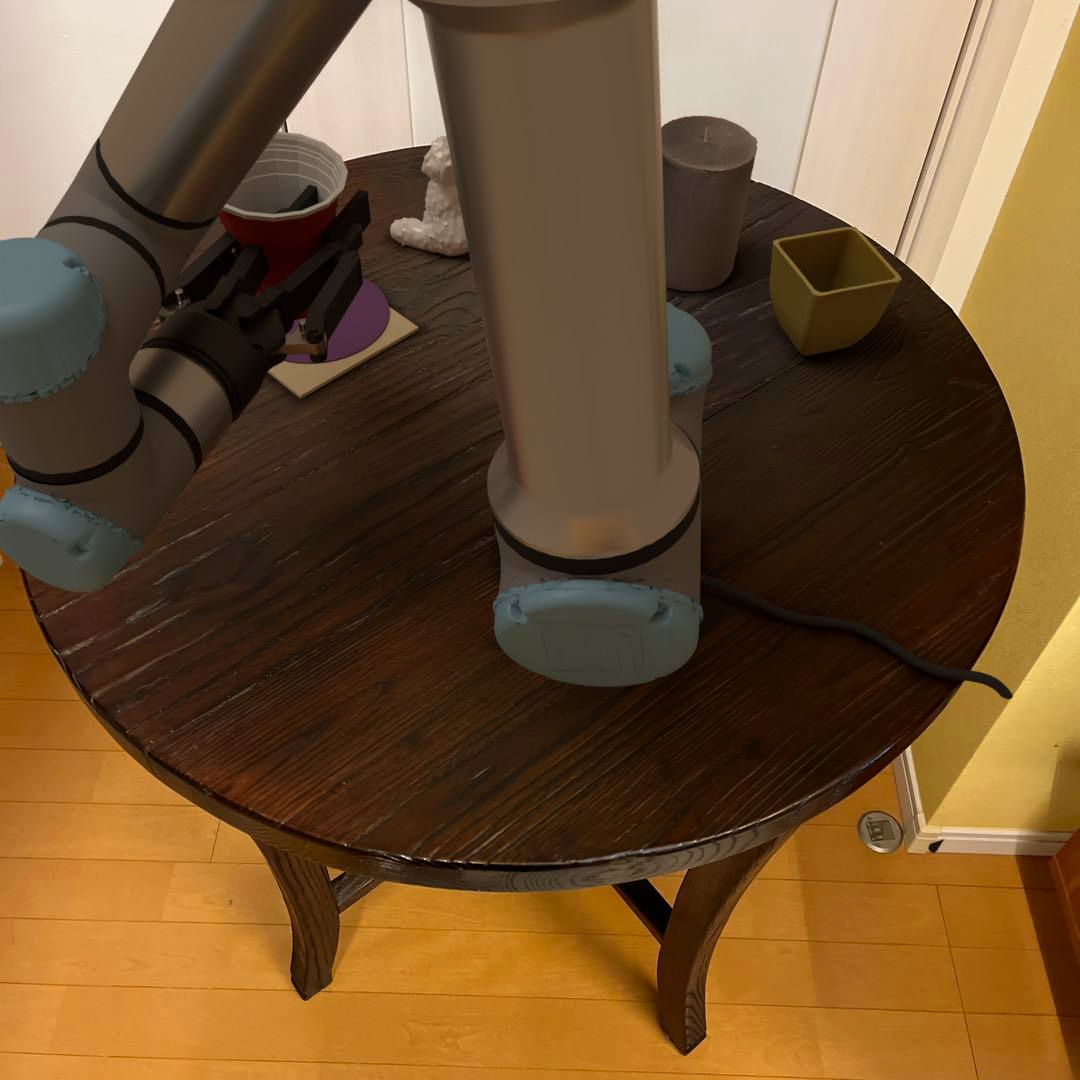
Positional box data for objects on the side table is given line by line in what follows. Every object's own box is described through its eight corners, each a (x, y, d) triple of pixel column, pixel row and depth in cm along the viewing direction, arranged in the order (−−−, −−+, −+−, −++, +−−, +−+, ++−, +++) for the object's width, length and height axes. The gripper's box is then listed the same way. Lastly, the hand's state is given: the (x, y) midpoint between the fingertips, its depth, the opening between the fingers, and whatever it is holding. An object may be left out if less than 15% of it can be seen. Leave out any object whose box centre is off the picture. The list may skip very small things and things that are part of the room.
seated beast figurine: (457, 205, 116) (453, 99, 107) (509, 240, 112) (510, 134, 103) (387, 238, 112) (376, 131, 102) (439, 276, 108) (433, 169, 98)
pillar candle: (627, 243, 112) (641, 107, 100) (714, 231, 114) (737, 96, 102) (658, 299, 106) (676, 162, 95) (749, 285, 108) (777, 149, 96)
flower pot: (833, 301, 107) (855, 223, 100) (877, 356, 101) (904, 278, 94) (753, 317, 105) (771, 239, 98) (794, 374, 99) (815, 296, 92)
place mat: (426, 325, 103) (426, 320, 102) (300, 399, 96) (299, 394, 95) (323, 253, 110) (322, 248, 109) (199, 317, 103) (197, 312, 102)
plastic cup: (337, 352, 83) (315, 220, 74) (208, 330, 85) (170, 197, 75) (382, 269, 90) (366, 138, 81) (261, 249, 91) (233, 118, 82)
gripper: (95, 401, 74) (259, 220, 89) (305, 460, 71) (440, 262, 86) (60, 315, 69) (241, 136, 83) (287, 374, 65) (435, 178, 80)
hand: (342, 201), depth 84 cm, fingers closed on plastic cup, 3 cm apart
